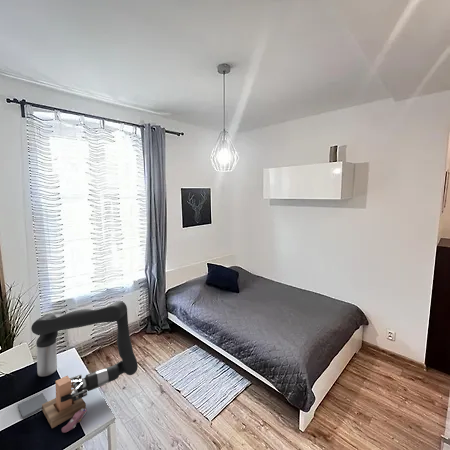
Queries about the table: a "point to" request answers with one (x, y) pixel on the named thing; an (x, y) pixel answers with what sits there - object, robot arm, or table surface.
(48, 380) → the table surface
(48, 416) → the walnut pocket block
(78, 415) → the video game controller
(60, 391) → the terracotta block
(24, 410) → the slate pad
